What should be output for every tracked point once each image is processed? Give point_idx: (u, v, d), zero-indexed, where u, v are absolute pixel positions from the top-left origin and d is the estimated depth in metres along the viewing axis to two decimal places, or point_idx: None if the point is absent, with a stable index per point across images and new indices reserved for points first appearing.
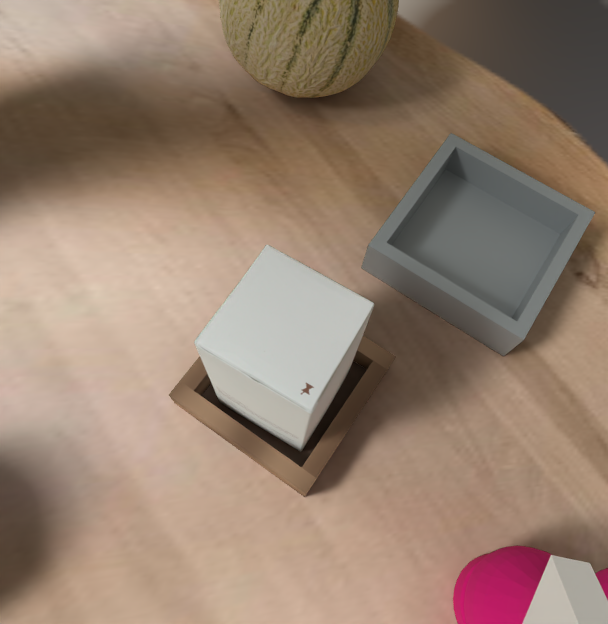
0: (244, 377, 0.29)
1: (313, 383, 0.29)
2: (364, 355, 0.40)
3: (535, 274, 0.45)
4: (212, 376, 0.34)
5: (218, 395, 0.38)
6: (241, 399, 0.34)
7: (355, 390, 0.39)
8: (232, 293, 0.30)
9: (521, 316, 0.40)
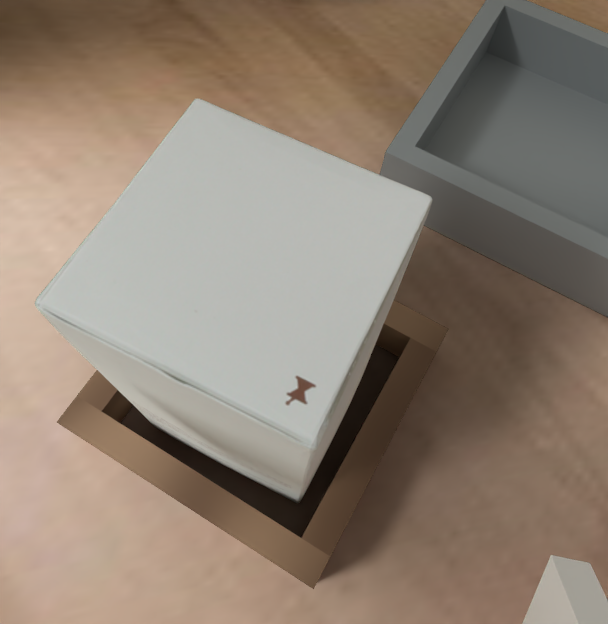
0: (153, 375, 0.13)
1: (314, 376, 0.12)
2: (395, 330, 0.24)
3: None
4: (113, 381, 0.17)
5: (146, 416, 0.22)
6: (175, 422, 0.18)
7: (385, 390, 0.22)
8: (123, 194, 0.14)
9: None
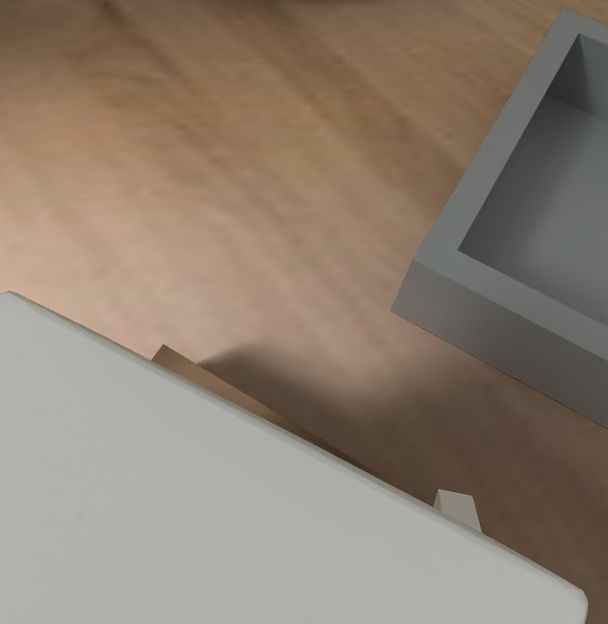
0: None
1: None
2: None
3: None
4: None
5: None
6: None
7: None
8: None
9: None
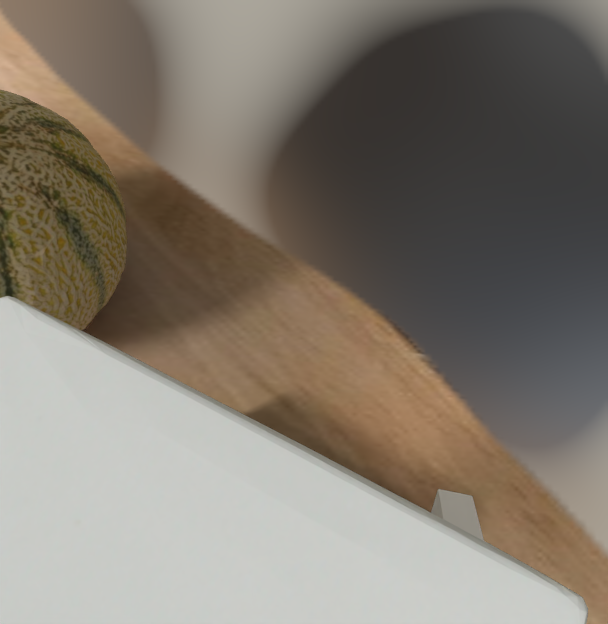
0: None
1: None
2: None
3: None
4: None
5: None
6: None
7: None
8: None
9: None
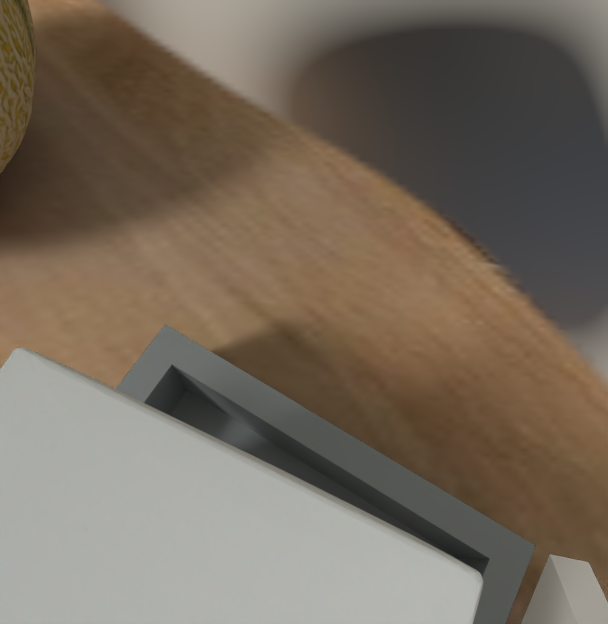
0: None
1: None
2: None
3: None
4: None
5: None
6: None
7: None
8: None
9: None
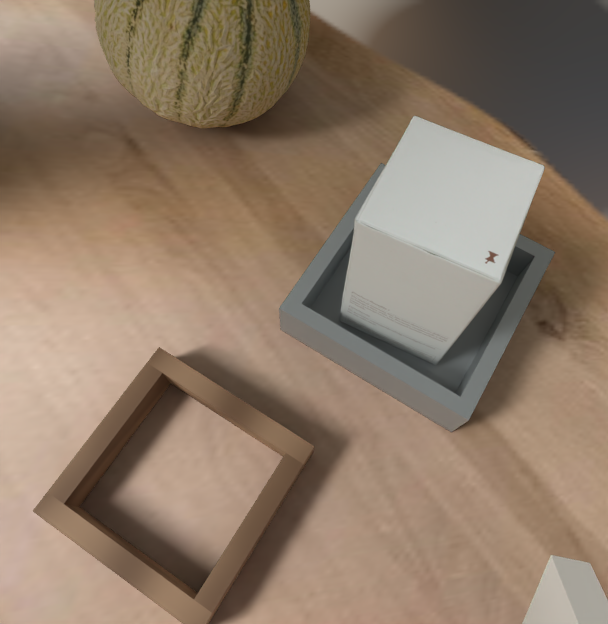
0: (414, 253, 0.26)
1: (497, 251, 0.25)
2: (275, 446, 0.33)
3: (488, 328, 0.38)
4: (355, 274, 0.31)
5: (345, 308, 0.35)
6: (386, 299, 0.31)
7: (263, 493, 0.32)
8: (387, 167, 0.27)
9: (465, 389, 0.33)
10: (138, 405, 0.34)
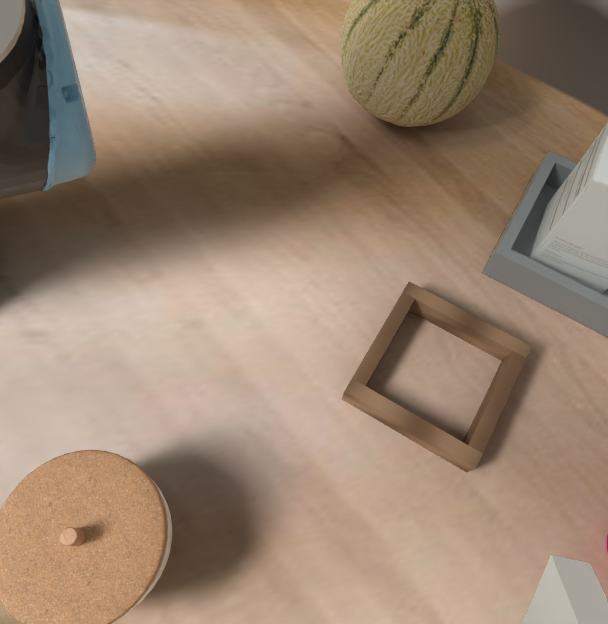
0: None
1: None
2: (504, 346, 0.46)
3: None
4: (568, 221, 0.44)
5: (539, 252, 0.49)
6: (586, 240, 0.45)
7: (502, 377, 0.45)
8: (605, 145, 0.41)
9: None
10: (402, 320, 0.47)
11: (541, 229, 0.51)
